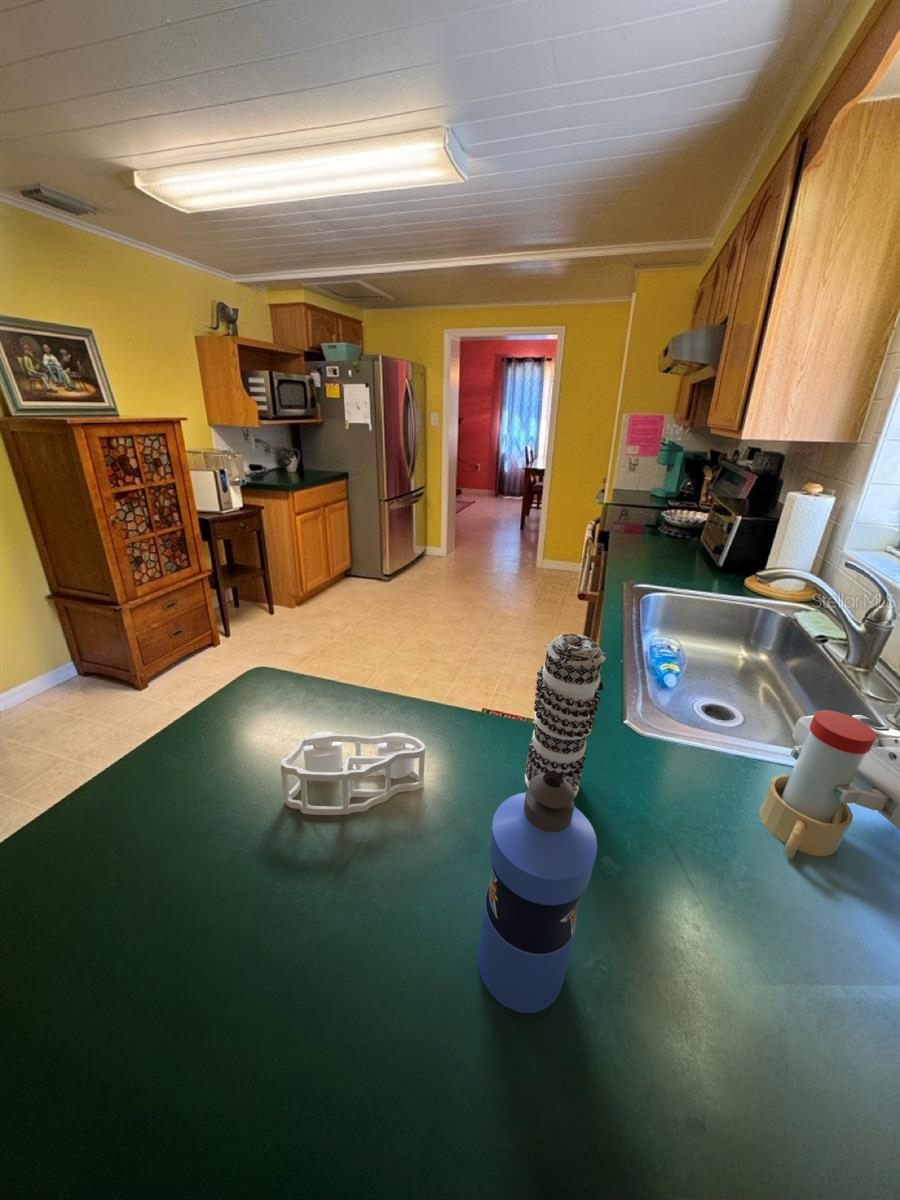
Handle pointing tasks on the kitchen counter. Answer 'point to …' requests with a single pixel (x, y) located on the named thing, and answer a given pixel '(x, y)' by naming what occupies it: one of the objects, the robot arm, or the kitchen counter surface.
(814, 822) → the mug
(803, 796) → the jar
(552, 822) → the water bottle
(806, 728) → the robot arm
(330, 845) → the kitchen counter surface
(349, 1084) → the kitchen counter surface
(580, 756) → the decorative candle
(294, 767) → the white open frame caddy
